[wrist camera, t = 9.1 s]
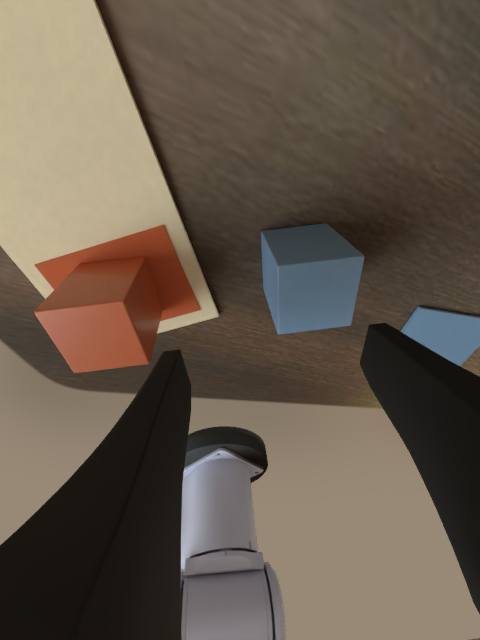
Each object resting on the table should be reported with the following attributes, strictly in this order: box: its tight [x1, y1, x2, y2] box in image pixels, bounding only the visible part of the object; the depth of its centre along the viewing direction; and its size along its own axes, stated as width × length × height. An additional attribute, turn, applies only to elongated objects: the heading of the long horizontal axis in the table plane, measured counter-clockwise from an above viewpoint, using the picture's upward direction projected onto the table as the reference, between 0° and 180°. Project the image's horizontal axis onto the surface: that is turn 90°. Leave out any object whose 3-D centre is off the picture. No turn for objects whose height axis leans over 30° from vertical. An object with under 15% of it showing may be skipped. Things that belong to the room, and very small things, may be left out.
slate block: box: [261, 223, 365, 334], centre depth 15 cm, size 4×4×5 cm
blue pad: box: [400, 306, 480, 366], centre depth 23 cm, size 8×8×1 cm
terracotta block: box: [34, 257, 163, 373], centre depth 15 cm, size 4×4×5 cm
